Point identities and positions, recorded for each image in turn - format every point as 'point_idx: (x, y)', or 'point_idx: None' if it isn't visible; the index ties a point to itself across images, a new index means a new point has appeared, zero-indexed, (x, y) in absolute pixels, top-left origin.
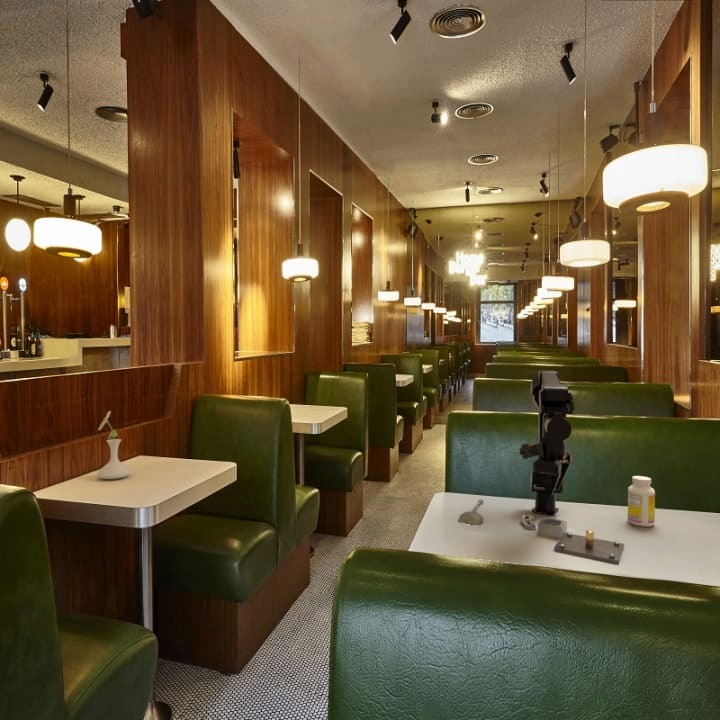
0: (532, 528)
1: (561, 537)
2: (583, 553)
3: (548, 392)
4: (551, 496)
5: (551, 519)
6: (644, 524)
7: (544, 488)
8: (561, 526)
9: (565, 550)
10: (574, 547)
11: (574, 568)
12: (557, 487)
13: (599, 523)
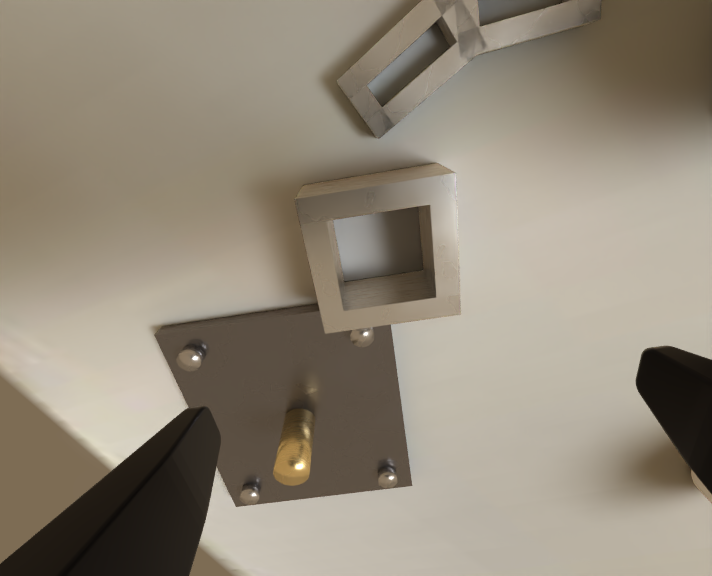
0: (364, 120)
1: (307, 314)
2: None
3: None
4: (215, 451)
5: (433, 236)
6: (694, 482)
7: (75, 501)
8: (341, 325)
9: (173, 373)
10: (230, 390)
11: (77, 427)
12: (649, 390)
13: None
